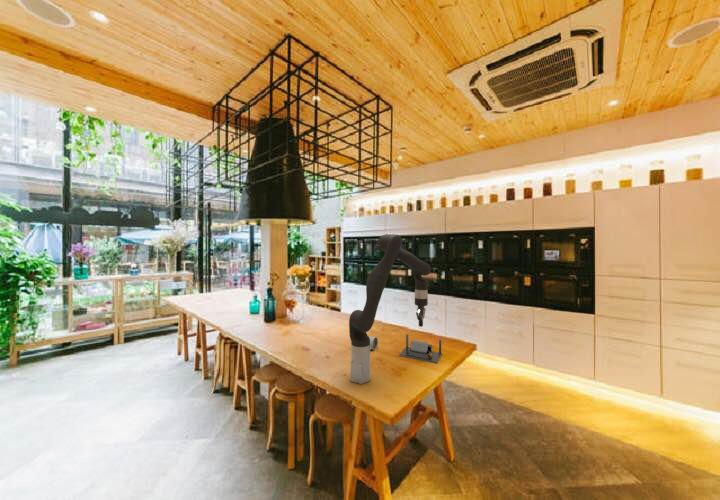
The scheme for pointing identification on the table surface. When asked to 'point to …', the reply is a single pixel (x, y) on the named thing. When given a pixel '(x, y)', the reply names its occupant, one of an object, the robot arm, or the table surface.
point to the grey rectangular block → (419, 346)
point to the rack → (428, 357)
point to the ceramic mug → (373, 342)
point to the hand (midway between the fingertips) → (420, 326)
